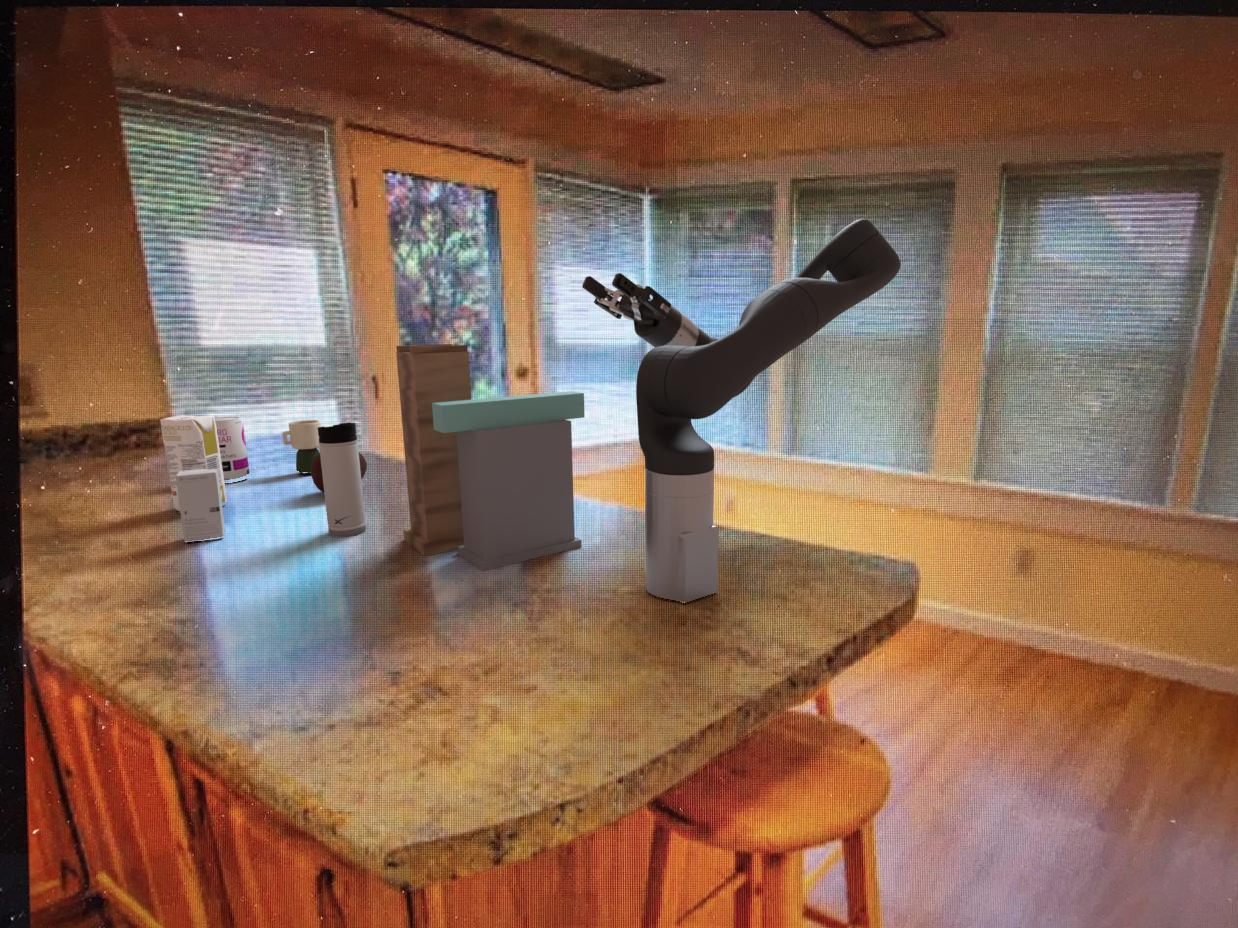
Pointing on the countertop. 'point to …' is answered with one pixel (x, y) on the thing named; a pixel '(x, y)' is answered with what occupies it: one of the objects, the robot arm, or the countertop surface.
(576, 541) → the charcoal pedestal
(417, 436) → the walnut stand
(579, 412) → the teal bar
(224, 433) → the supplement can
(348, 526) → the travel mug
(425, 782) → the countertop surface
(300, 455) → the character mug
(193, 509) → the skincare box
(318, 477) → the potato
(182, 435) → the juice carton
